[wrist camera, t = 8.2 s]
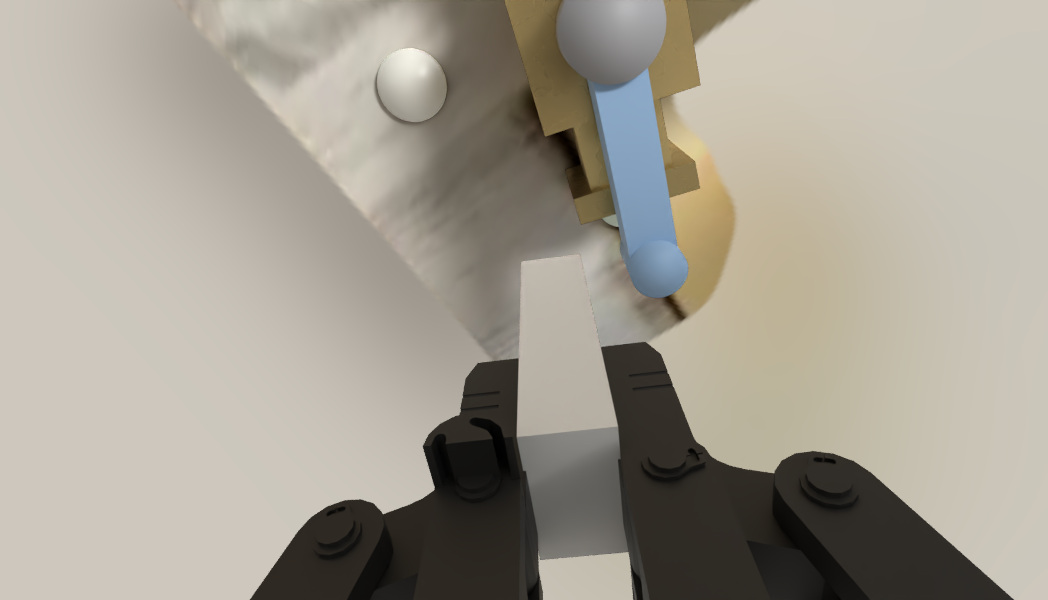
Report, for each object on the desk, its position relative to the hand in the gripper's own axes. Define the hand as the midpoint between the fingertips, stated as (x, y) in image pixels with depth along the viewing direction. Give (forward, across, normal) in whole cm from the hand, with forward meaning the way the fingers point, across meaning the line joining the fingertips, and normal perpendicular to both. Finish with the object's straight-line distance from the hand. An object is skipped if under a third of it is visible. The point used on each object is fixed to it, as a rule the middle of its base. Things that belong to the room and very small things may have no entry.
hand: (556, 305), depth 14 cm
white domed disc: (+25, -8, +4) cm, 26 cm away
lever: (+16, +4, +1) cm, 16 cm away
